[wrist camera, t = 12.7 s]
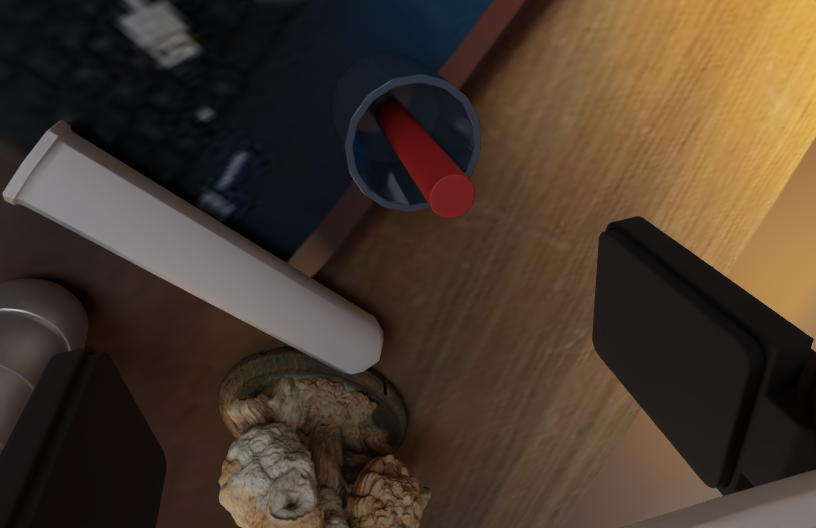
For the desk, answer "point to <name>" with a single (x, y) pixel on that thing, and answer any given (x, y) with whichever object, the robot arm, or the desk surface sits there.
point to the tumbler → (424, 99)
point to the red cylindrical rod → (425, 161)
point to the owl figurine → (314, 447)
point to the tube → (190, 249)
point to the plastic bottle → (33, 339)
